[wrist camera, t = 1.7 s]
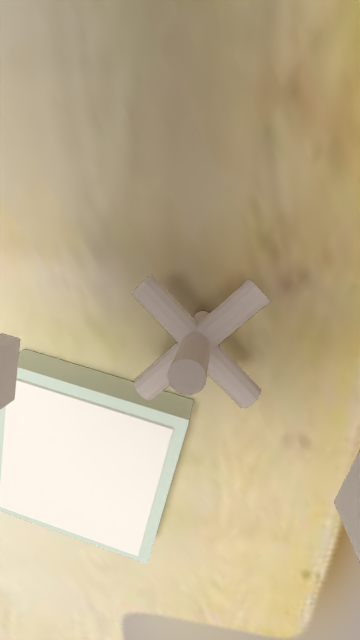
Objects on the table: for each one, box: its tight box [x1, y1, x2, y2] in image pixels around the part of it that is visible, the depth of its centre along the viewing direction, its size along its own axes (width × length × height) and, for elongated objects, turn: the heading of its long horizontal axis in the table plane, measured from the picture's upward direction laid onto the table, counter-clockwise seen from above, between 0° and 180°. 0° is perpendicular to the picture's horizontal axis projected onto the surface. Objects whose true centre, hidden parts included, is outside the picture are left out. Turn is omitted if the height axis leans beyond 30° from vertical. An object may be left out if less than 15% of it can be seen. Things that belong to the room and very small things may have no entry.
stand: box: [0, 349, 194, 564], centre depth 26 cm, size 16×16×3 cm
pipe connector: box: [132, 274, 270, 408], centre depth 18 cm, size 10×10×10 cm
